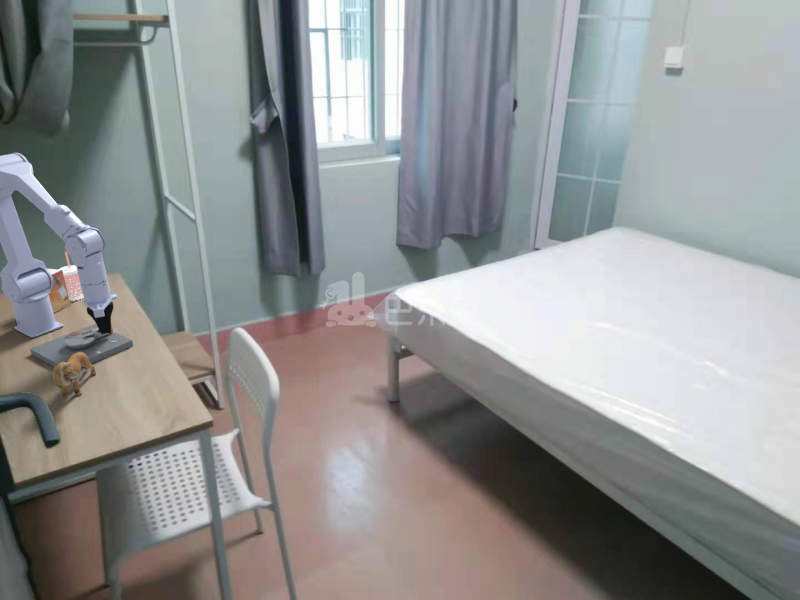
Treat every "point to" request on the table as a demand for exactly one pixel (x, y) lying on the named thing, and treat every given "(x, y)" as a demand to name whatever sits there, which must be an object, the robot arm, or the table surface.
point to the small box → (58, 291)
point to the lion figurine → (71, 373)
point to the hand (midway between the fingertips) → (106, 332)
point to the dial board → (101, 349)
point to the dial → (83, 338)
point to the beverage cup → (72, 281)
